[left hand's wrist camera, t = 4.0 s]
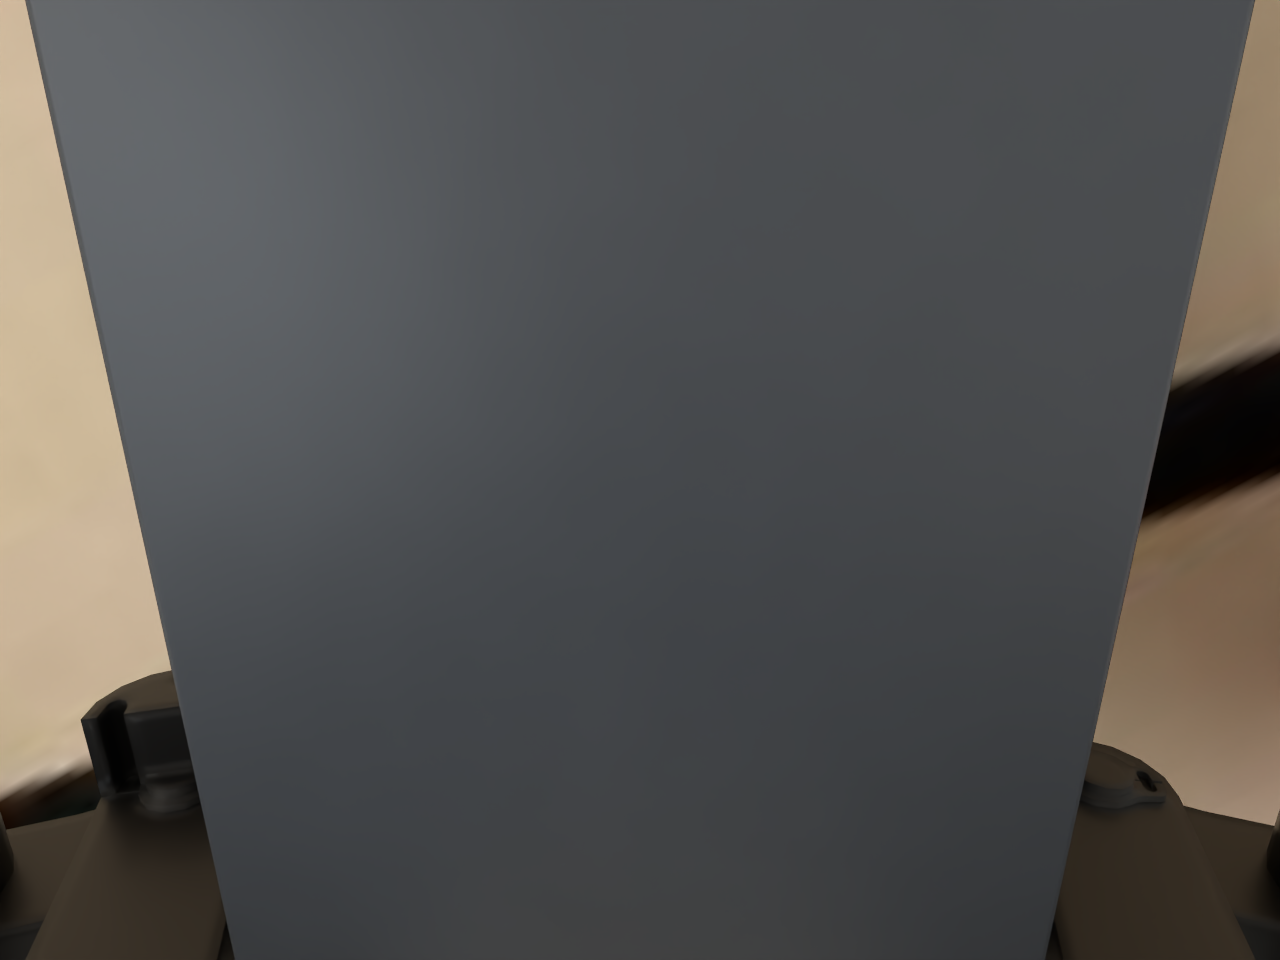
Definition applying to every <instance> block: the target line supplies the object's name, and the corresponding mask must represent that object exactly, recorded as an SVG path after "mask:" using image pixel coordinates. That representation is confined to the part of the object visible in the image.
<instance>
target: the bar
mask: <svg viewBox="0 0 1280 960" xmlns="http://www.w3.org/2000/svg"><path fill="white" fill-rule="evenodd" d="M25 1H26V6H27V10H28V15H29V20H30V24H31V29H32V33H33V38H34V42H35V47H36V52H37V56H38V61H39V65H40V70H41V74H42V79H43V84H44V88H45V93H46V97H47V102H48V106H49V111H50V116H51V120H52V125H53V129H54V134H55V138H56V143H57V148H58V152H59V157H60V161H61V166H62V170H63V175H64V180H65V184H66V189H67V193H68V198H69V203H70V207H71V212H72V216H73V221H74V225H75V230H76V235H77V239H78V244H79V248H80V253H81V257H82V262H83V267H84V271H85V276H86V280H87V285H88V289H89V294H90V299H91V303H92V308H93V312H94V317H95V321H96V326H97V331H98V335H99V340H100V344H101V349H102V353H103V358H104V363H105V367H106V372H107V376H108V381H109V385H110V390H111V395H112V399H113V404H114V408H115V413H116V417H117V422H118V427H119V431H120V436H121V440H122V445H123V450H124V454H125V459H126V463H127V468H128V472H129V477H130V482H131V486H132V491H133V495H134V500H135V504H136V509H137V514H138V518H139V523H140V527H141V532H142V536H143V541H144V546H145V550H146V555H147V559H148V564H149V568H150V573H151V578H152V582H153V587H154V591H155V596H156V600H157V605H158V610H159V614H160V619H161V623H162V628H163V632H164V637H165V642H166V646H167V651H168V655H169V660H170V664H171V669H172V674H173V678H174V683H175V687H176V692H177V697H178V701H179V706H180V710H181V715H182V719H183V724H184V729H185V733H186V738H187V742H188V747H189V751H190V756H191V761H192V765H193V770H194V774H195V779H196V783H197V788H198V793H199V797H200V802H201V806H202V811H203V815H204V820H205V825H206V829H207V834H208V838H209V843H210V847H211V852H212V857H213V861H214V866H215V870H216V875H217V879H218V884H219V889H220V893H221V898H222V902H223V907H224V912H225V916H226V921H227V925H228V930H229V934H230V939H231V944H232V948H233V953H234V957H235V960H1045V957H1046V952H1047V948H1048V943H1049V939H1050V934H1051V930H1052V925H1053V920H1054V916H1055V911H1056V907H1057V902H1058V898H1059V893H1060V888H1061V884H1062V879H1063V875H1064V870H1065V866H1066V861H1067V856H1068V852H1069V847H1070V843H1071V838H1072V834H1073V829H1074V824H1075V820H1076V815H1077V811H1078V806H1079V802H1080V797H1081V792H1082V788H1083V783H1084V779H1085V774H1086V770H1087V765H1088V761H1089V756H1090V751H1091V747H1092V742H1093V738H1094V733H1095V729H1096V724H1097V719H1098V715H1099V710H1100V706H1101V701H1102V697H1103V692H1104V687H1105V683H1106V678H1107V674H1108V669H1109V665H1110V660H1111V655H1112V651H1113V646H1114V642H1115V637H1116V633H1117V628H1118V623H1119V619H1120V614H1121V610H1122V605H1123V601H1124V596H1125V591H1126V587H1127V582H1128V578H1129V573H1130V569H1131V564H1132V559H1133V555H1134V550H1135V546H1136V541H1137V537H1138V532H1139V528H1140V523H1141V518H1142V514H1143V509H1144V505H1145V500H1146V496H1147V491H1148V486H1149V482H1150V477H1151V473H1152V468H1153V464H1154V459H1155V454H1156V450H1157V445H1158V441H1159V436H1160V432H1161V427H1162V422H1163V418H1164V413H1165V409H1166V404H1167V400H1168V395H1169V390H1170V386H1171V381H1172V377H1173V372H1174V368H1175V363H1176V358H1177V354H1178V349H1179V345H1180V340H1181V336H1182V331H1183V327H1184V322H1185V317H1186V313H1187V308H1188V304H1189V299H1190V295H1191V290H1192V285H1193V281H1194V276H1195V272H1196V267H1197V263H1198V258H1199V253H1200V249H1201V244H1202V240H1203V235H1204V231H1205V226H1206V221H1207V217H1208V212H1209V208H1210V203H1211V199H1212V194H1213V189H1214V185H1215V180H1216V176H1217V171H1218V167H1219V162H1220V157H1221V153H1222V148H1223V144H1224V139H1225V135H1226V130H1227V126H1228V121H1229V116H1230V112H1231V107H1232V103H1233V98H1234V94H1235V89H1236V84H1237V80H1238V75H1239V71H1240V66H1241V62H1242V57H1243V52H1244V48H1245V43H1246V39H1247V34H1248V30H1249V25H1250V20H1251V16H1252V11H1253V7H1254V2H1255V0H25Z"/></svg>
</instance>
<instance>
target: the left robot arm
mask: <svg viewBox="0 0 1280 960" xmlns="http://www.w3.org/2000/svg"><path fill="white" fill-rule="evenodd" d="M81 723H82V727H83V730H84V734H85V738H86V742H87V745H88V749H89V753H90V756H91V760H92V764H93V768H94V771H95V775H96V779H97V783H98V786H99V790H100V794H101V799H100V801H99V804H98V806H97V808H96V810H93V811H89V812H86V813H82V814H78V815H74V816H69V817H65V818H60V819H55V820H51V821H46V822H41V823H36V824H32V825H27V826H22V827H18V828H13V829H8V830H6V829H5V826H4V823H3V819H2V816H1V813H0V960H235V957H234V953H233V948H232V944H231V939H230V934H229V930H228V925H227V921H226V916H225V912H224V907H223V902H222V898H221V893H220V889H219V884H218V879H217V875H216V870H215V866H214V861H213V857H212V852H211V847H210V843H209V838H208V834H207V829H206V825H205V820H204V815H203V811H202V806H201V802H200V797H199V793H198V788H197V783H196V779H195V774H194V770H193V765H192V761H191V756H190V751H189V747H188V742H187V738H186V733H185V729H184V724H183V719H182V715H181V710H180V706H179V701H178V697H177V692H176V687H175V683H174V678H173V674H172V670H171V671H167V672H162V673H157V674H153V675H150V676H147V677H145V678H142V679H139V680H137V681H134V682H132V683H129V684H127V685H124V686H122V687H120V688H118V689H117V690H115V691H114V692H112V693H110V694H109V695H107V696H106V697H104V698H102V699H101V700H99V701H98V702H96V703H95V704H94V706H93V707H92V708H91V709H90V710H89V711H88V712H87V713H86V714H85V716H84V717H83V718H82V719H81ZM1045 960H1280V811H1279V814H1278V817H1277V820H1276V823H1275V826H1272V825H1267V824H1262V823H1257V822H1253V821H1248V820H1243V819H1238V818H1234V817H1229V816H1224V815H1219V814H1215V813H1210V812H1205V811H1201V810H1197V809H1194V808H1190V807H1187V806H1183V804H1182V802H1181V800H1180V798H1179V796H1178V795H1177V793H1176V792H1175V791H1174V789H1173V788H1172V787H1171V785H1170V784H1169V783H1168V781H1167V780H1166V779H1165V778H1164V777H1163V776H1162V775H1161V774H1159V773H1158V772H1157V771H1155V770H1154V769H1152V768H1151V767H1150V766H1148V765H1147V764H1146V763H1144V762H1143V761H1141V760H1140V759H1138V758H1135V757H1133V756H1131V755H1129V754H1127V753H1124V752H1122V751H1120V750H1118V749H1116V748H1113V747H1110V746H1106V745H1102V744H1098V743H1094V742H1092V747H1091V751H1090V756H1089V761H1088V765H1087V770H1086V774H1085V779H1084V783H1083V788H1082V792H1081V797H1080V802H1079V806H1078V811H1077V815H1076V820H1075V824H1074V829H1073V834H1072V838H1071V843H1070V847H1069V852H1068V856H1067V861H1066V866H1065V870H1064V875H1063V879H1062V884H1061V888H1060V893H1059V898H1058V902H1057V907H1056V911H1055V916H1054V920H1053V925H1052V930H1051V934H1050V939H1049V943H1048V948H1047V952H1046V957H1045Z"/></svg>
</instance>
